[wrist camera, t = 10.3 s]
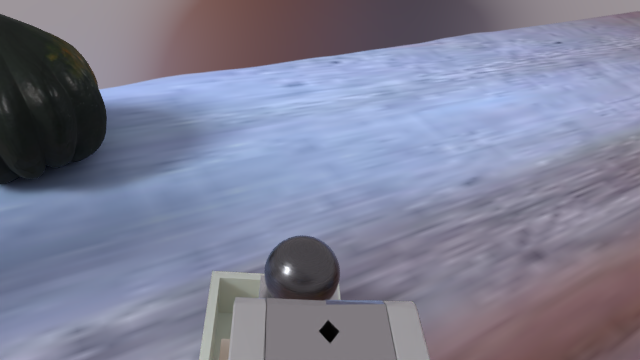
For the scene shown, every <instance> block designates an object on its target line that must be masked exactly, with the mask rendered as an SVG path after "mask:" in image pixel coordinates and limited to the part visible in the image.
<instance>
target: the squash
mask: <svg viewBox="0 0 640 360" xmlns="http://www.w3.org/2000/svg"><path fill="white" fill-rule="evenodd" d="M106 120H107V116H106V109H105V105H104V102H103V99H102V96H101V94H100V91H99V89H98V85H97V80H96V78H95V75H94V73H93V71H92V70H91V68H90V66H89V64H88V63H87V61H86V60H85V59H84V57H83V56H82V55H81V54H80V53H79V52H78V51H77V50H76V49H75V48H74V47H73V46H72V45H70V44H69V43H67V42H66V41H64V40H62V39H60V38H59V37H56V36H54V35H52V34H50V33H48V32H45V31H43V30H41V29H39V28H36V27H34V26H31V25H29V24H26V23H24V22H21V21H18V20H15V19H13V18H10V17H7V16H5V15H1V14H0V184H3V183H7V182H10V181H12V180H14V179H16V178H18V177H20V176H21V177H23V178H26V179H37V178H38V177H40V176H41V175H42V174H43V173H44V170H45V167H46V165H47V166H50V167H53V168H56V167H61V166H65V165H66V164H67V163H69V162H74V161H80V160H82V159H85V158H87V157H88V156H90V155H91V154H93V153H94V152H95V151H96V150H97V149H98V148H99V147H100V145H101V143H102V141H103V139H104V137H105V133H106Z"/></svg>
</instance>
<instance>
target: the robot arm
mask: <svg viewBox="0 0 640 360" xmlns="http://www.w3.org/2000/svg"><path fill="white" fill-rule="evenodd" d="M228 360H430V356H429V352H428V348H427V345H426V341H425V337H424V333H423V330H422V326H421V322H420V318H419V314H418V311H417V307H416V305H415V304H414V303H413V301H383V302H382V301H378V300H324V301H320V300H299V299H277V298H267V301H266V298H245V297H236V298H235V302H234V305H233V316H232V326H231V336H230V347H229V357H228Z"/></svg>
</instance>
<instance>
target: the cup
mask: <svg viewBox="0 0 640 360" xmlns="http://www.w3.org/2000/svg"><path fill="white" fill-rule="evenodd" d="M261 275H265V274H257V273H240V272H223V271H212V276H211V283H210V290H209V296H208V303H207V310H206V316H205V323H204V330H203V336H202V343H201V350H200V356H199V360H219V355H220V347H221V339H230V336H231V326H232V316H233V305H234V302H235V298H236V297H245V298H259V289H260V279H261ZM337 288H338V300H340V289H339V284H338V287H337Z"/></svg>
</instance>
